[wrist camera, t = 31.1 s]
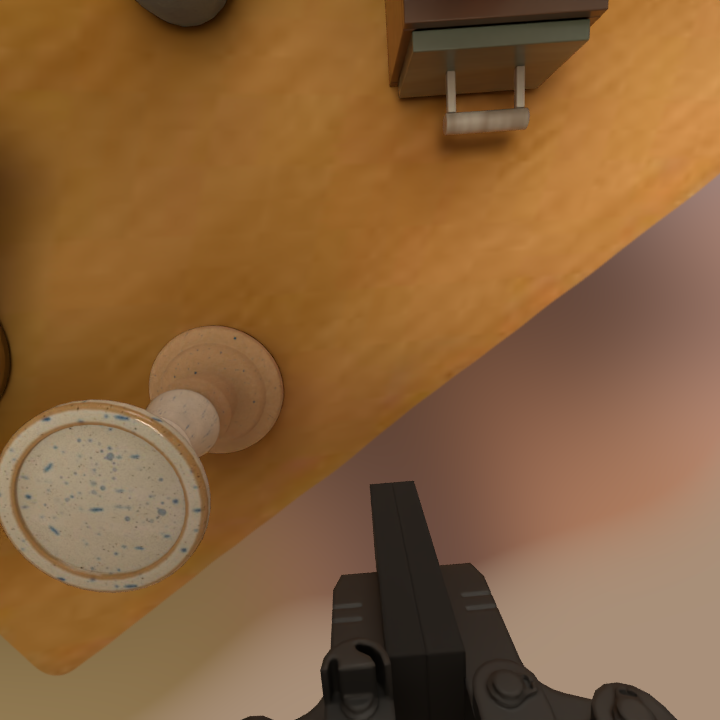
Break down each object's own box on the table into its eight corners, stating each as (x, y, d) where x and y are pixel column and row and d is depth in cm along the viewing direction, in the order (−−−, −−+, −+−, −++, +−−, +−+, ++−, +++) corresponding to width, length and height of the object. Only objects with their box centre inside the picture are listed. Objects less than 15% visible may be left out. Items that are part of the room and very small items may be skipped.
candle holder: (302, 426, 42) (262, 570, 22) (185, 465, 42) (44, 639, 23) (256, 306, 39) (164, 348, 19) (131, 349, 40) (-81, 432, 20)
